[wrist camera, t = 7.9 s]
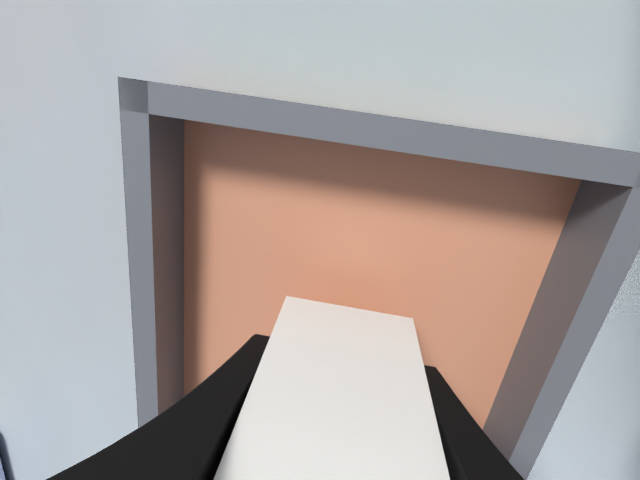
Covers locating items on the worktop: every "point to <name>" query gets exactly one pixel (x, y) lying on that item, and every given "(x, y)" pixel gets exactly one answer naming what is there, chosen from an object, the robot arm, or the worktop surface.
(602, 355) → the worktop surface
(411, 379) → the white rectangular block
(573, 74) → the worktop surface
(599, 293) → the tray
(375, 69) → the worktop surface
